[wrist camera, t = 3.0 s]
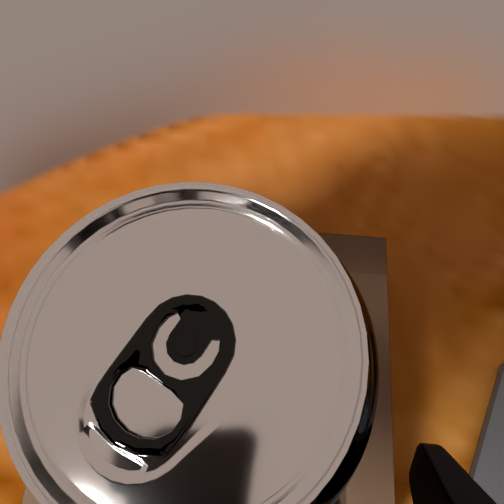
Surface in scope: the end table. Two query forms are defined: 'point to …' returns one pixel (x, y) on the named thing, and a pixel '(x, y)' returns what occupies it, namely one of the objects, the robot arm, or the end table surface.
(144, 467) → the beverage can
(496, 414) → the slate mat
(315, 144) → the end table surface
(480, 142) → the end table surface
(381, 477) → the pocket frame
